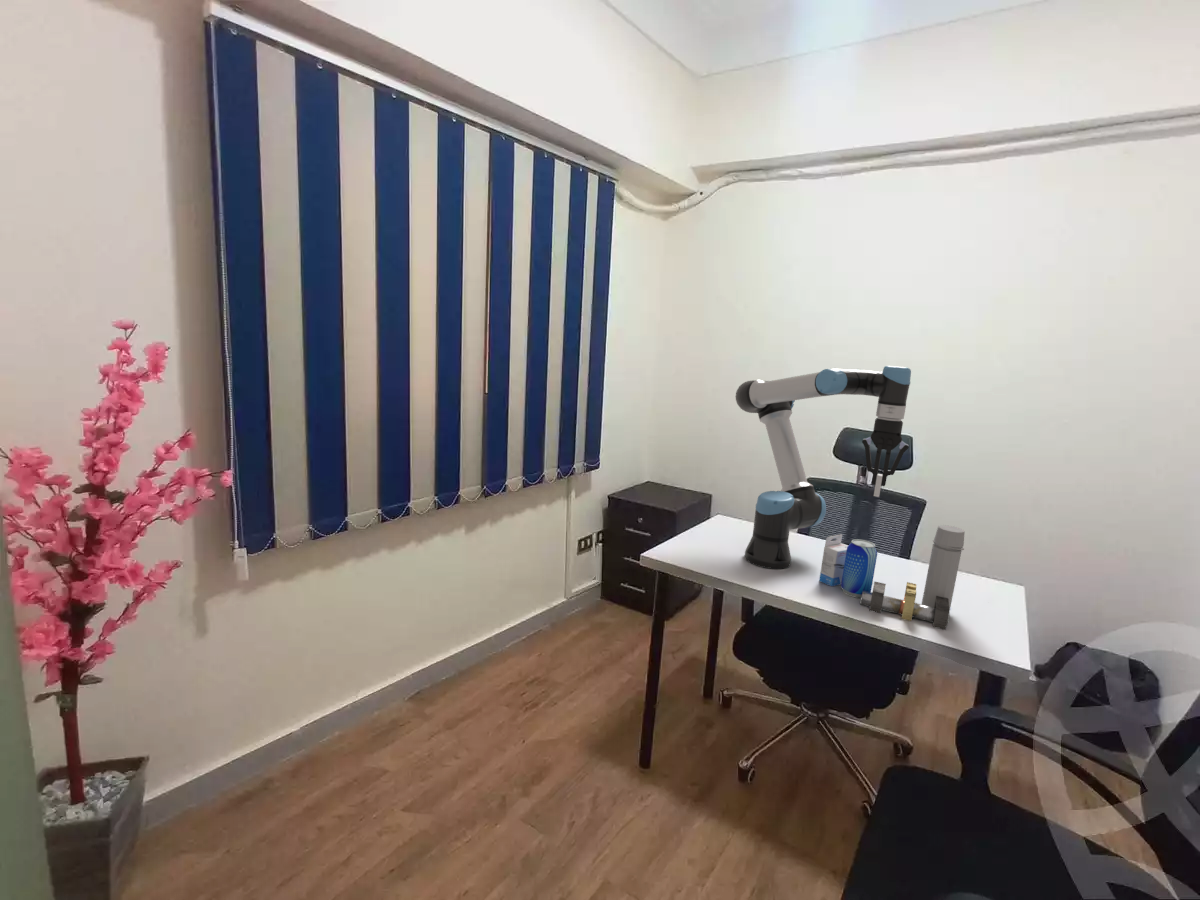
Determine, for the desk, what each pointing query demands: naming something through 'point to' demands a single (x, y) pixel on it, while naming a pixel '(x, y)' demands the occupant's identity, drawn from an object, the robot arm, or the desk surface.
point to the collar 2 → (941, 612)
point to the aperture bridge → (909, 601)
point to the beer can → (859, 567)
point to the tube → (898, 604)
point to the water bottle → (943, 564)
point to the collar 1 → (877, 597)
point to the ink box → (833, 561)
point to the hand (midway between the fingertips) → (876, 495)
